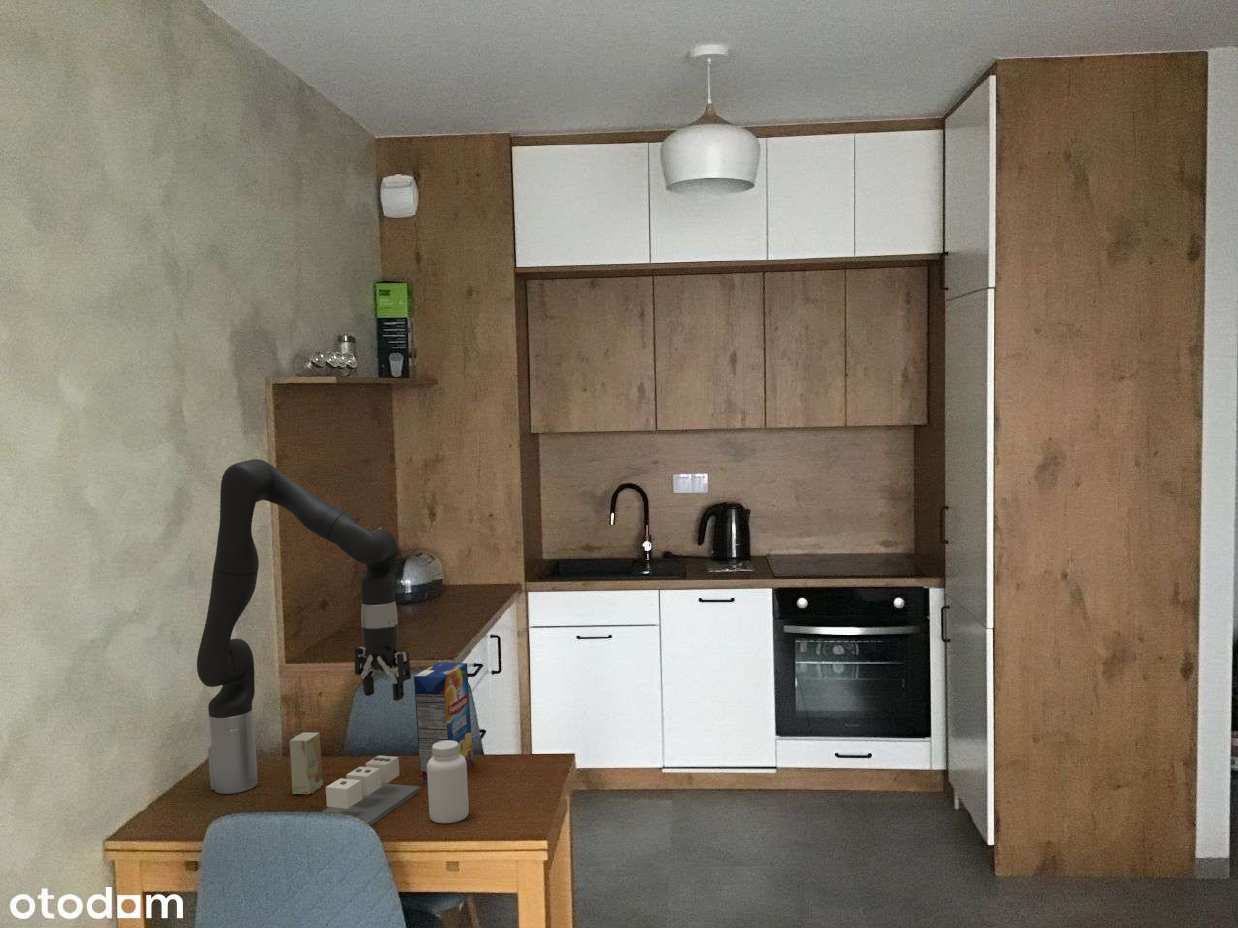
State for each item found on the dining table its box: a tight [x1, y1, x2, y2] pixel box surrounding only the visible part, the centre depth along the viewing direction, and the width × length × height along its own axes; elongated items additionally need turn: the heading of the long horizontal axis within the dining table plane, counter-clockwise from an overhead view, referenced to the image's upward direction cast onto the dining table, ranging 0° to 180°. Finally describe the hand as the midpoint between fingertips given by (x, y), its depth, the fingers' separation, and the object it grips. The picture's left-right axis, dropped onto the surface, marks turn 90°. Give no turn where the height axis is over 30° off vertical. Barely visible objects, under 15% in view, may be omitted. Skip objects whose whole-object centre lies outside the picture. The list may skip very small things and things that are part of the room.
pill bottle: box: [427, 740, 470, 824], centre depth 209 cm, size 8×8×15 cm
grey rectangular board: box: [321, 783, 421, 826], centre depth 217 cm, size 13×22×1 cm, turn 160°
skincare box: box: [289, 731, 324, 795], centre depth 229 cm, size 6×4×12 cm
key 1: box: [325, 778, 362, 809], centre depth 210 cm, size 5×5×4 cm
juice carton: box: [413, 662, 474, 784], centre depth 234 cm, size 12×8×24 cm, turn 164°
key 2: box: [345, 766, 381, 796], centre depth 216 cm, size 5×5×4 cm
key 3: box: [365, 755, 400, 784], centre depth 223 cm, size 5×5×4 cm
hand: (383, 697), depth 222 cm, fingers open, 8 cm apart
